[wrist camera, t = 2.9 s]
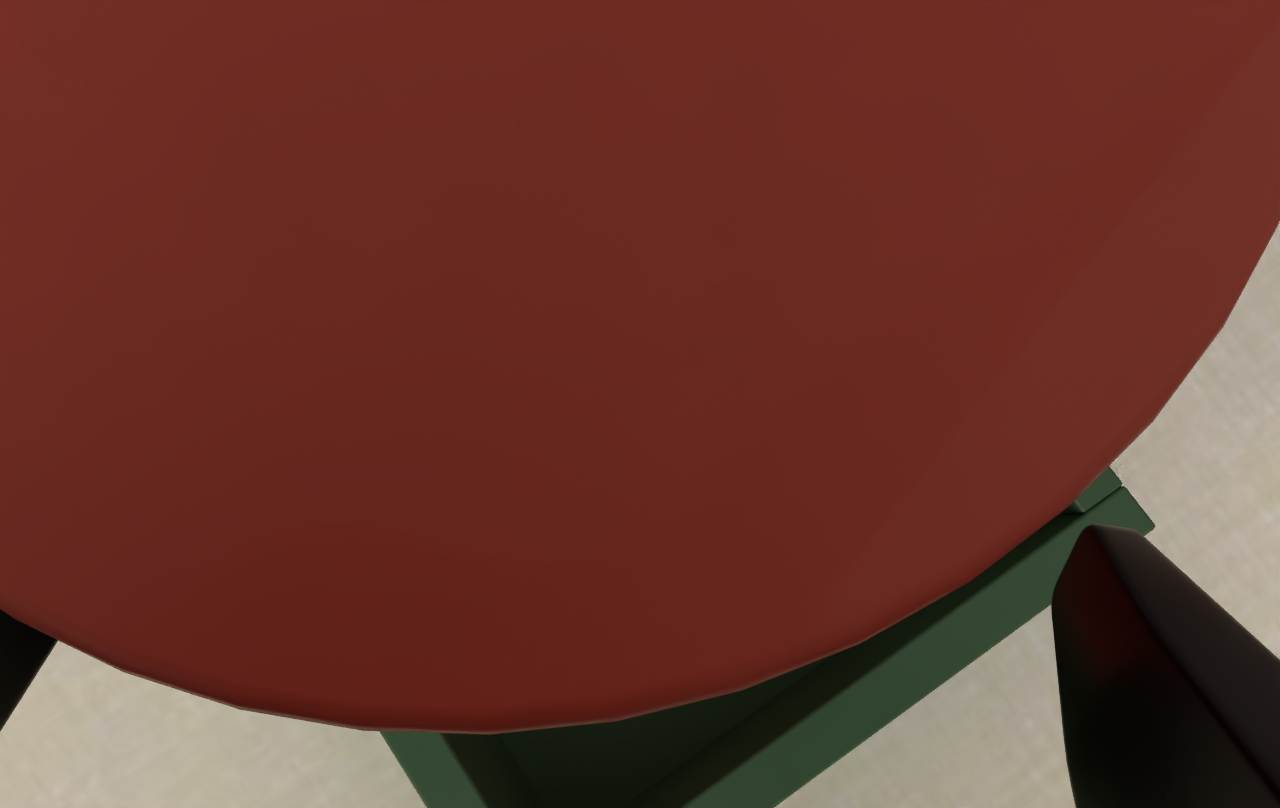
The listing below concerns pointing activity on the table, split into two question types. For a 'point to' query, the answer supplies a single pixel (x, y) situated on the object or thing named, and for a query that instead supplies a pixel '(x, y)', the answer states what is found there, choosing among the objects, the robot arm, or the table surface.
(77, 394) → the skittle
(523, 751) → the bin
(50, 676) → the table surface
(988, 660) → the table surface
